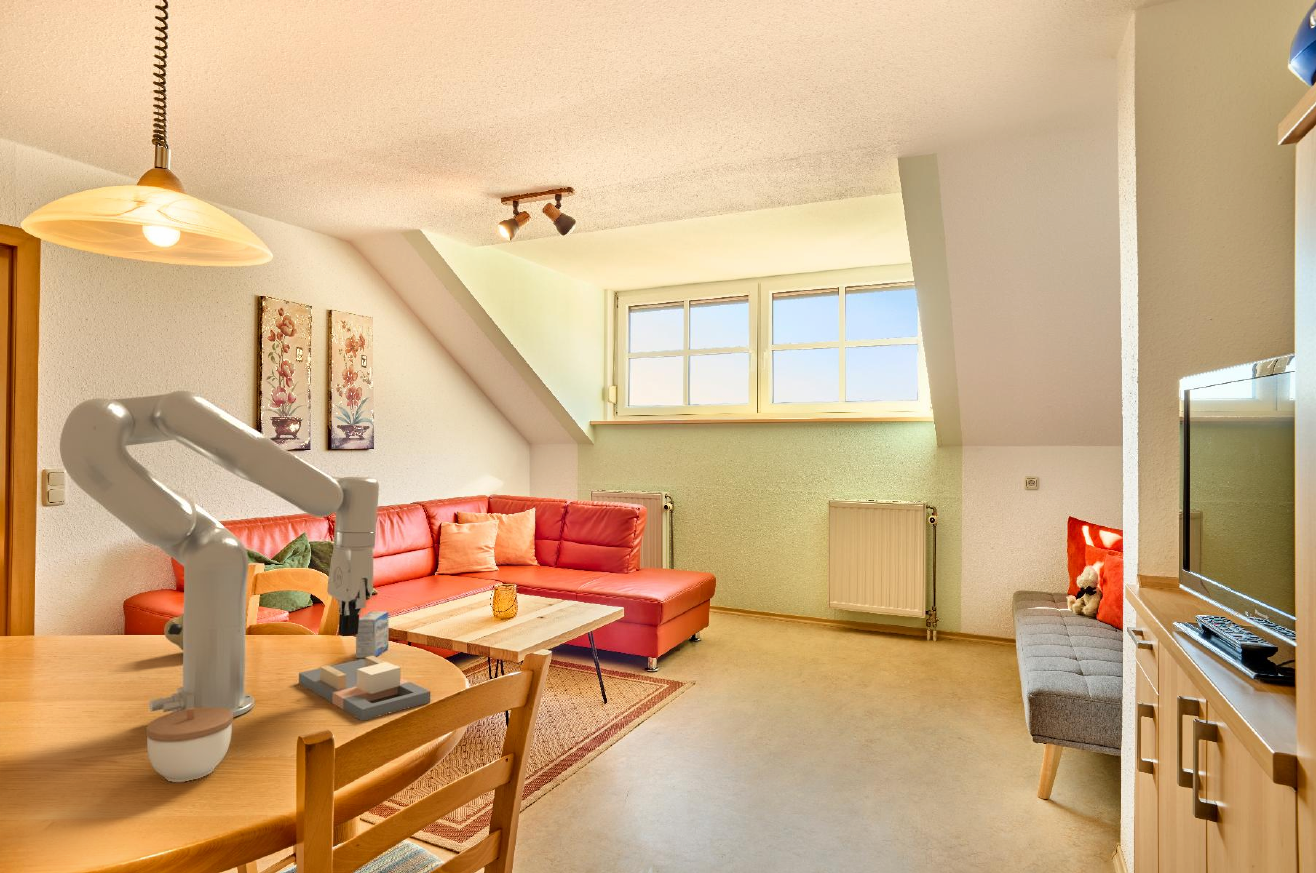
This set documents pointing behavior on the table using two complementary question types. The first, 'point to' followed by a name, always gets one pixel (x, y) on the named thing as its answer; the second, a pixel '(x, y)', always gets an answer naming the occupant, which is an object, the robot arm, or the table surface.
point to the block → (378, 677)
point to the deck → (344, 693)
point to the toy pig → (175, 630)
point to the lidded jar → (189, 742)
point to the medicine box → (372, 634)
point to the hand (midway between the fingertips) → (348, 634)
